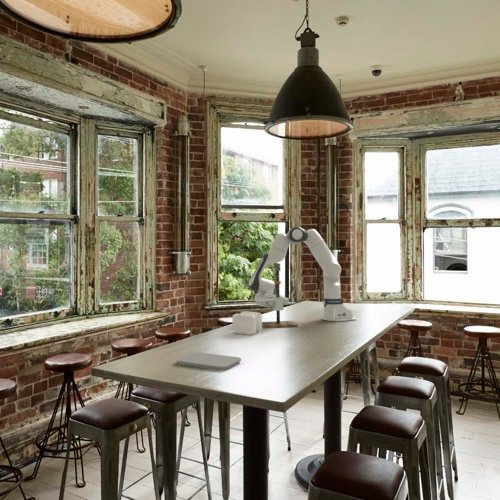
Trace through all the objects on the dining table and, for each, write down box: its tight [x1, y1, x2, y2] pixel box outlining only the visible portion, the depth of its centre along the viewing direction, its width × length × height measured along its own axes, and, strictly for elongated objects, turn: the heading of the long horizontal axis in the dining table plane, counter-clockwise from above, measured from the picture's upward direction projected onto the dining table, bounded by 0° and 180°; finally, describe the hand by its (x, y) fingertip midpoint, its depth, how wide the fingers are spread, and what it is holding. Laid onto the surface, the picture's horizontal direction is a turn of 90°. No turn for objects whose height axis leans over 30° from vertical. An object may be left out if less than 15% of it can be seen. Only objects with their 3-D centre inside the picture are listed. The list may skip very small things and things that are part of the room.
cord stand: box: [262, 263, 299, 329], centre depth 282 cm, size 22×13×39 cm, turn 99°
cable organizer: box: [231, 310, 263, 336], centre depth 262 cm, size 15×11×12 cm
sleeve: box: [272, 296, 285, 312], centre depth 283 cm, size 5×5×8 cm
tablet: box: [175, 351, 242, 371], centre depth 198 cm, size 16×26×2 cm, turn 62°
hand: (278, 303), depth 282 cm, fingers closed on sleeve, 5 cm apart
